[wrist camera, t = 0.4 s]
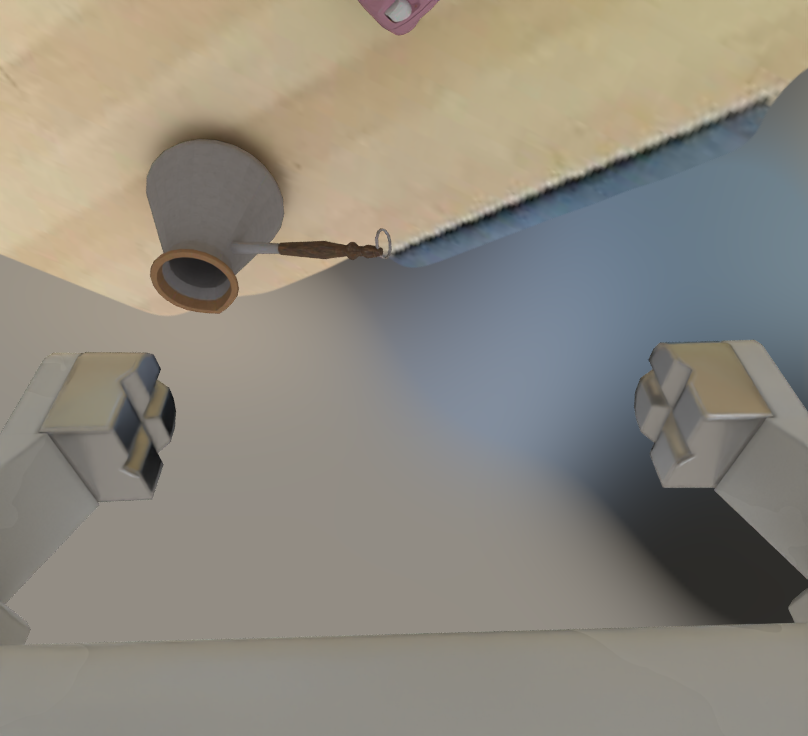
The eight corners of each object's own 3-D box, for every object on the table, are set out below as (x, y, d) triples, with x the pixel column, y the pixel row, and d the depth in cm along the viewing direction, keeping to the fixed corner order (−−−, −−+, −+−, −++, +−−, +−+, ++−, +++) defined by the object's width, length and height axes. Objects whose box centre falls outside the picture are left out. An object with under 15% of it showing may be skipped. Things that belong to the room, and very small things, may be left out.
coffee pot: (202, 246, 57) (168, 365, 48) (125, 145, 48) (66, 268, 39) (407, 188, 52) (413, 308, 43) (363, 65, 43) (360, 183, 34)
